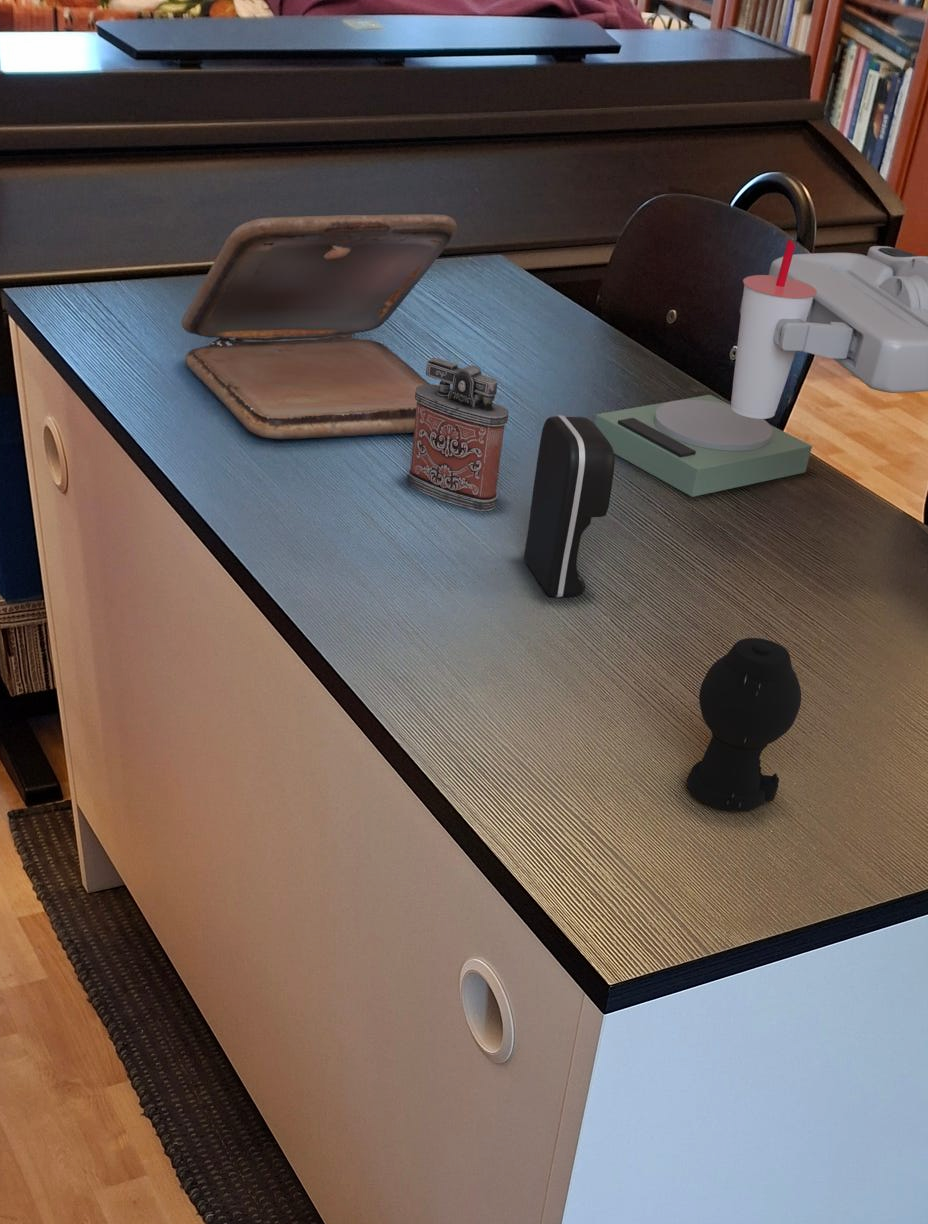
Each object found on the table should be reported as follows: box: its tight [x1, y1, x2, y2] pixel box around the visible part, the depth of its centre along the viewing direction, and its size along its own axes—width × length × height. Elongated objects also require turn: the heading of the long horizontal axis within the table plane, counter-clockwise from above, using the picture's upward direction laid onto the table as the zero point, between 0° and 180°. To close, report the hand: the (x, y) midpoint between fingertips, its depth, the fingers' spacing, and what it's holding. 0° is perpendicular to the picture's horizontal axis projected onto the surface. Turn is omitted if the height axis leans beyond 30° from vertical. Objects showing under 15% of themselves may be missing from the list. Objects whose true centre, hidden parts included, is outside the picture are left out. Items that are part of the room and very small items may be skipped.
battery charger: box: [523, 414, 616, 598], centre depth 115 cm, size 7×4×11 cm, turn 15°
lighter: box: [406, 356, 510, 512], centre depth 125 cm, size 8×3×10 cm, turn 58°
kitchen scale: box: [594, 394, 813, 498], centre depth 139 cm, size 14×13×3 cm
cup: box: [730, 239, 817, 420], centre depth 117 cm, size 5×5×12 cm
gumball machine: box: [686, 627, 802, 819], centre depth 94 cm, size 7×6×10 cm
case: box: [181, 213, 458, 440], centre depth 136 cm, size 20×21×16 cm
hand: (761, 320), depth 116 cm, fingers closed on cup, 5 cm apart
